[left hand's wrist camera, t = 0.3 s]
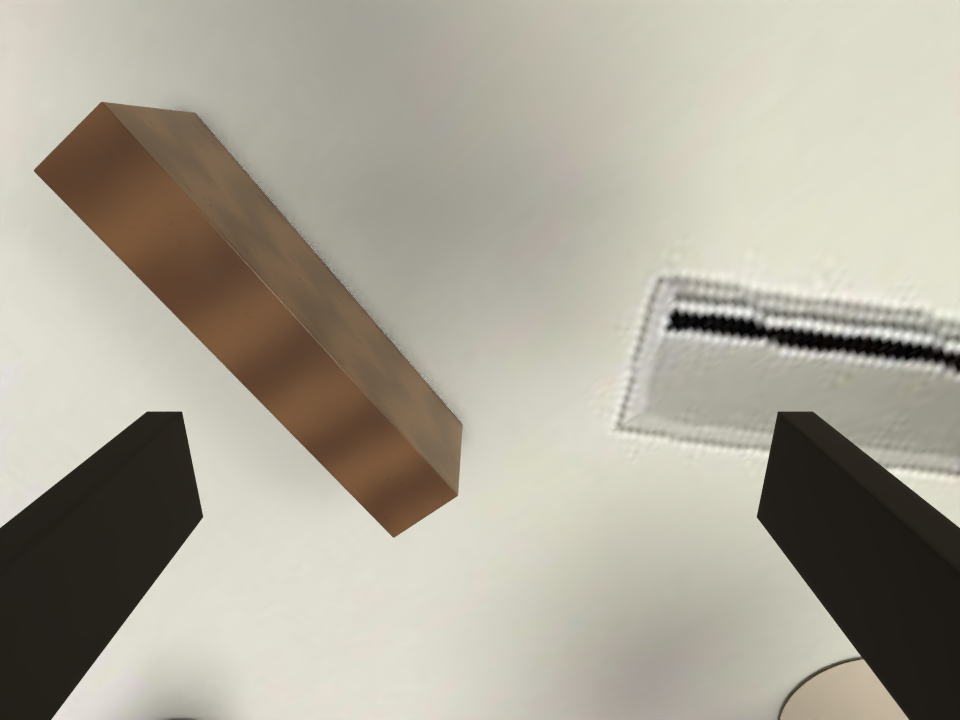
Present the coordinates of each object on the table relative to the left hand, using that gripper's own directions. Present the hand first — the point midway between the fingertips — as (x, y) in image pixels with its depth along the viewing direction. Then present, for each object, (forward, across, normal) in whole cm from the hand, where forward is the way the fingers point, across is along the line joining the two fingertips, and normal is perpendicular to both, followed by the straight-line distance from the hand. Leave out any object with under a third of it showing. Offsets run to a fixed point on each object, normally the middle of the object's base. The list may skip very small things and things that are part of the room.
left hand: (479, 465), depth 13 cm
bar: (+27, -11, -4) cm, 29 cm away
